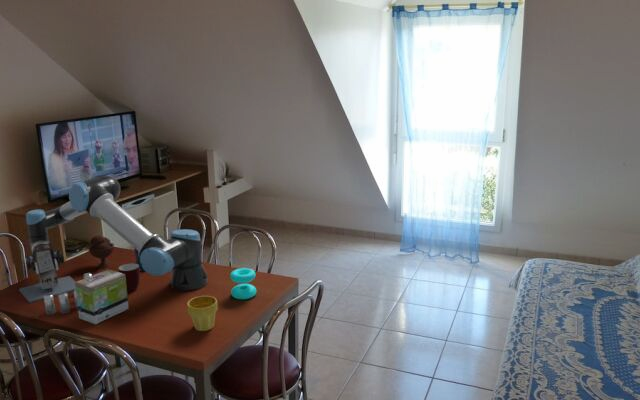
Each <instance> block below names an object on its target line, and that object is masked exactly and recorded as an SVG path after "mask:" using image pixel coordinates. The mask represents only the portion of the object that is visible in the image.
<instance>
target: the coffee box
mask: <svg viewBox="0 0 640 400" xmlns="http://www.w3.org/2000/svg"><path fill="white" fill-rule="evenodd" d="M34 250H35V257H36V262H37V266H38V271H39V274H37V275H38V280H39V283H40V285H41V288H42V289H47V288H52V287H57V286H58V280H57V279H58V274H57V270H56V266H55V259H54V256H55V255H54V253H55V252H54V248H53V246H52V243H50V242H49V243H48V244H43V245H39V246H34Z"/></svg>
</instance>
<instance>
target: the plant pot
mask: <svg viewBox="0 0 640 400" xmlns="http://www.w3.org/2000/svg"><path fill="white" fill-rule="evenodd" d="M186 305H187V313H188V315H190V317H191V321H192V324H193V326H194V329H195V330H196V331H198V332H206V331H210V330H212V329H214V326H215V321H216V312H217V311H218V309H219V308H218V300H217V298H216V297H214V296H211V295H200V296H195V297H193V298H190V300H188V301H187V304H186Z"/></svg>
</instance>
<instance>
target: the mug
mask: <svg viewBox="0 0 640 400" xmlns="http://www.w3.org/2000/svg"><path fill="white" fill-rule="evenodd" d="M118 272H119V273H123V274H125V276H126V287H127V293H128V292H135V291H137V290H138V287H139V284H140V278H141V277H140V276H141V270H140V268H139V265H138V264H136V262H134V263H133V262H132V263H131V262H130V263H125V264H122V265H120V266H119V267H118Z"/></svg>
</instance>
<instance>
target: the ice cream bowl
mask: <svg viewBox="0 0 640 400" xmlns="http://www.w3.org/2000/svg"><path fill="white" fill-rule="evenodd" d="M89 243H90V246H88V252H89V254H90V255H92V256H93V257H94V258H97V259H100V263H99V264H97V268H98V269H106V267H107V268H109V267H110V266H111V264H110V263H109V262H106V258H107V257H109V256H110V255H112V253H113V252H114V248H115V246H114V245H115V244H114V243H112V242H111V239H110V238H108V237H106V236H102V235H101V234H96V235H93V237H91V239H90V241H89ZM108 266H109V267H108Z"/></svg>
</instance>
